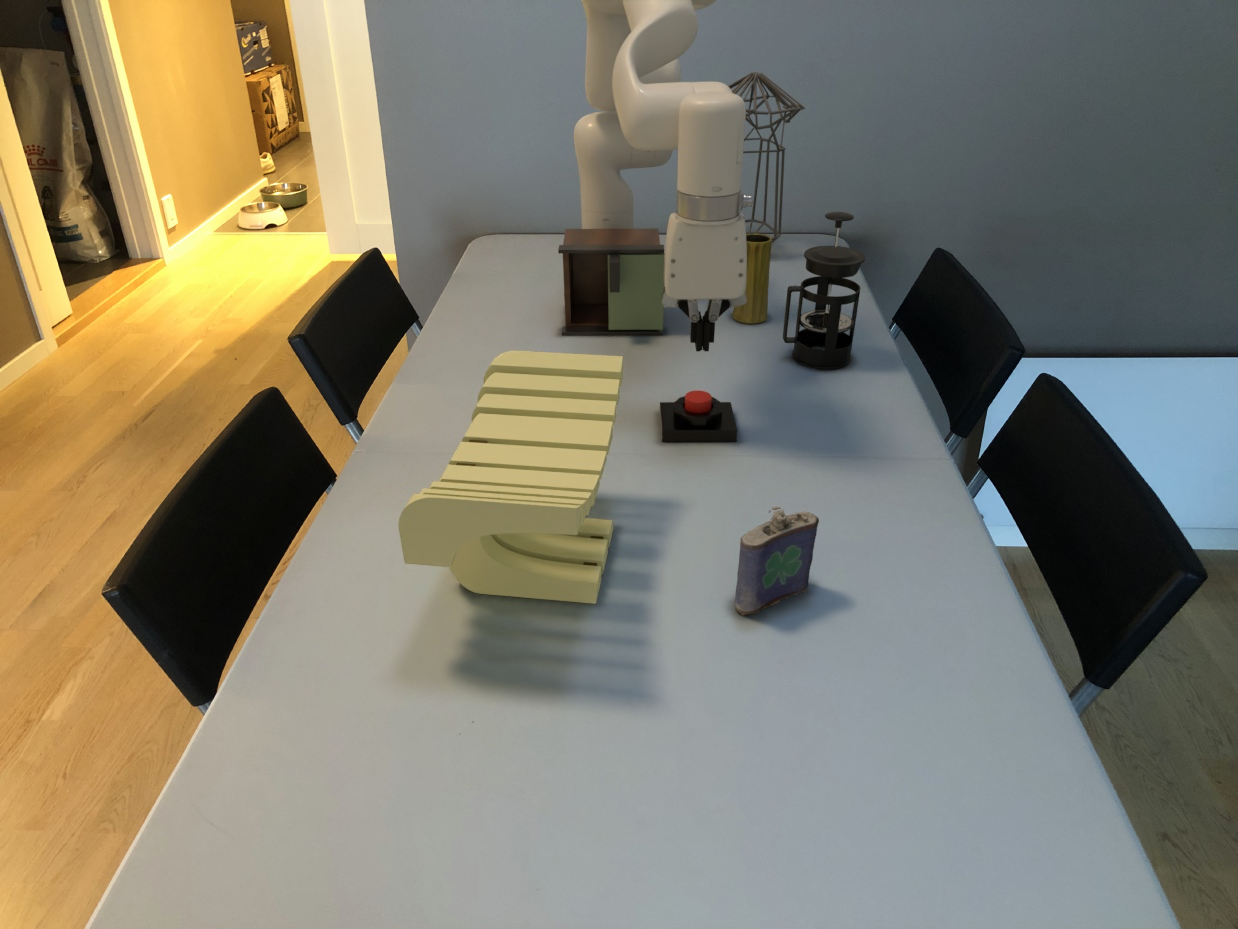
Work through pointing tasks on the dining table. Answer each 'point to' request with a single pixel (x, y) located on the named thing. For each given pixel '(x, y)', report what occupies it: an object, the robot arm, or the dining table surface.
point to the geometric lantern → (762, 79)
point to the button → (698, 401)
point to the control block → (697, 423)
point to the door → (635, 291)
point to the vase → (756, 280)
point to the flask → (775, 560)
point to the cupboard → (597, 275)
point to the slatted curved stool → (525, 482)
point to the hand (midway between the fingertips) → (701, 347)
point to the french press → (825, 322)
